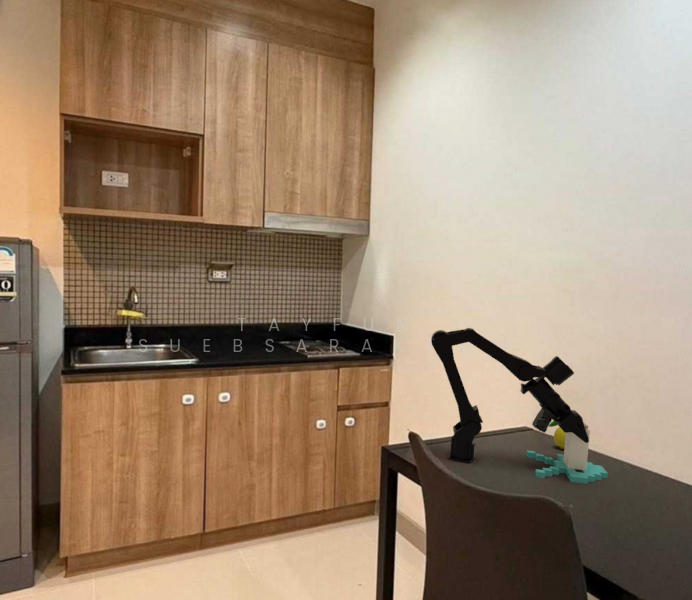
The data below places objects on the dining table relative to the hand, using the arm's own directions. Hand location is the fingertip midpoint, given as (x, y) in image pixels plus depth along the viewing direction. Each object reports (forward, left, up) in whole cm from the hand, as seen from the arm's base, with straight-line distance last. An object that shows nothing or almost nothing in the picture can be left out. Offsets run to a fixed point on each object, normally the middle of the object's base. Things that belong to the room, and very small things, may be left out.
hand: (583, 437), depth 152 cm
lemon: (-6, +22, -10) cm, 25 cm away
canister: (-2, 0, -9) cm, 9 cm away
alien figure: (-3, 0, -11) cm, 12 cm away
